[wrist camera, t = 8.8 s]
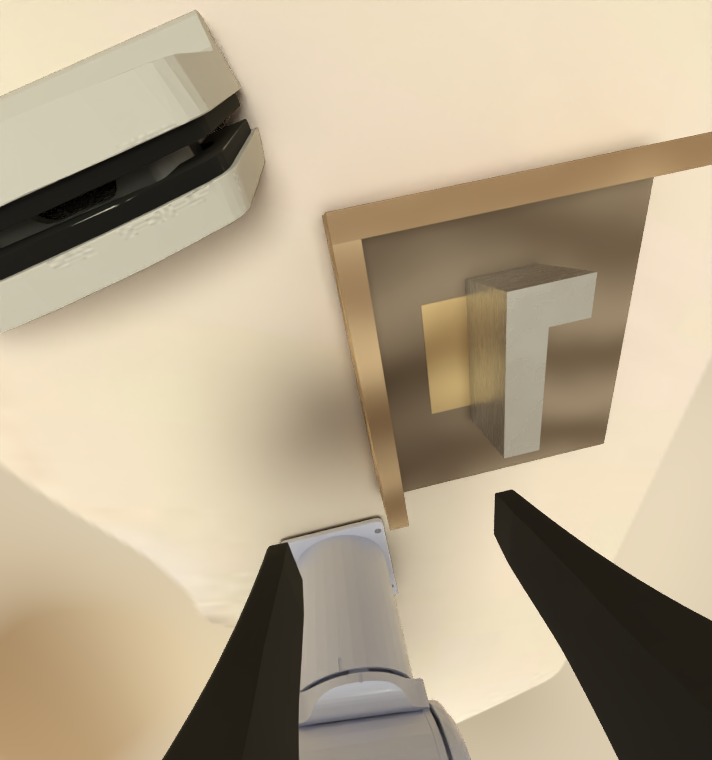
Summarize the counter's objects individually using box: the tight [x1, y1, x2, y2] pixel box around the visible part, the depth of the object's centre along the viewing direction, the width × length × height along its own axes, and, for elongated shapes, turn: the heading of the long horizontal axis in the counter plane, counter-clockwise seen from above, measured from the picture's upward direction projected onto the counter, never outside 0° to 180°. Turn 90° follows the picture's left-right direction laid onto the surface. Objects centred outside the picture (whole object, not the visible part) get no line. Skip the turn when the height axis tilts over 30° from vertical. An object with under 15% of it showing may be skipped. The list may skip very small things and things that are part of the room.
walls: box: [322, 132, 712, 530], centre depth 18 cm, size 18×17×4 cm
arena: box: [361, 177, 654, 492], centre depth 20 cm, size 17×16×1 cm
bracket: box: [466, 263, 597, 458], centre depth 17 cm, size 9×4×4 cm, turn 11°
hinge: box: [0, 10, 265, 333], centre depth 11 cm, size 17×5×10 cm, turn 110°
